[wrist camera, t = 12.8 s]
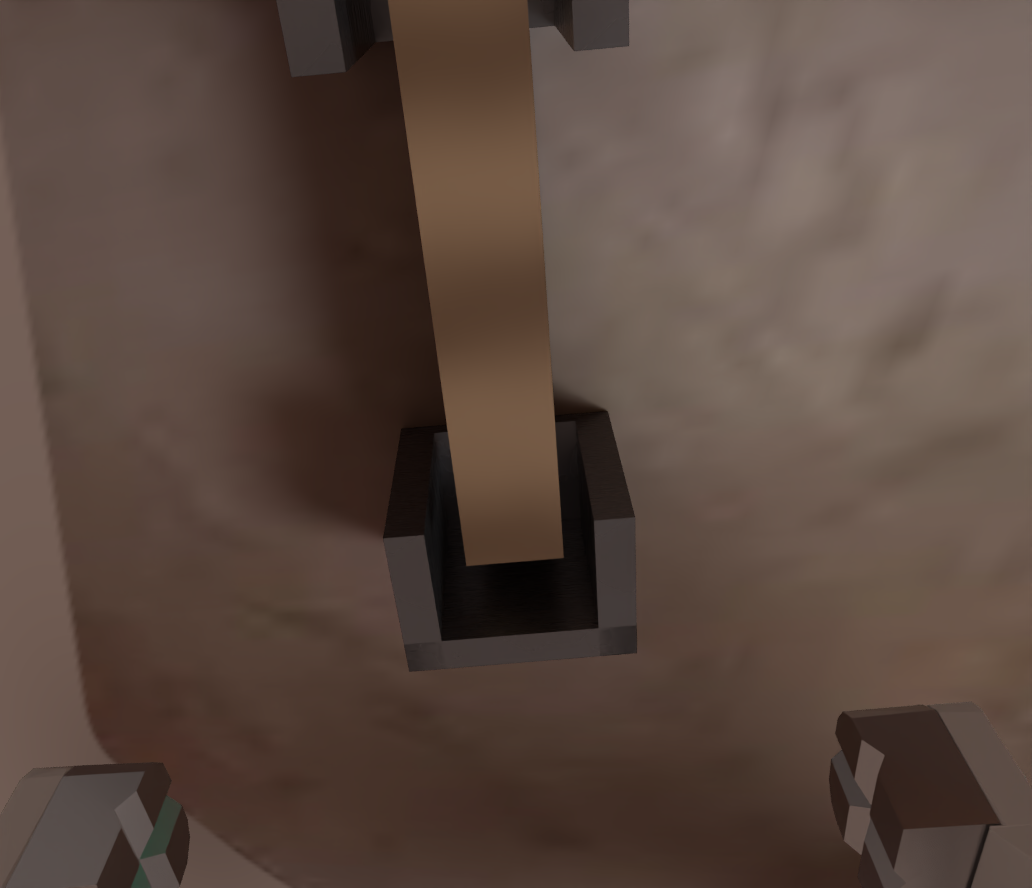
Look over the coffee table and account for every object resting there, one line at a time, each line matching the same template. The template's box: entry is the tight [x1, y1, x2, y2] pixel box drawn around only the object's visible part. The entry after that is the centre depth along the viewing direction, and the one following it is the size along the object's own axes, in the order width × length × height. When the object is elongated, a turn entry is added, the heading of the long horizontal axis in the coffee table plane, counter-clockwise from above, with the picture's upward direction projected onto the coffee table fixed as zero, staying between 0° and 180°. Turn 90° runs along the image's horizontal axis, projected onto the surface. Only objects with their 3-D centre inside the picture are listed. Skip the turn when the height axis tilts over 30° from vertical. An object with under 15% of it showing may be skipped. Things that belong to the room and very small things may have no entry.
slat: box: [388, 0, 564, 566], centre depth 25 cm, size 16×3×6 cm, turn 5°
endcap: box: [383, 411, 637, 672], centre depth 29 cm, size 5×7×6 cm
